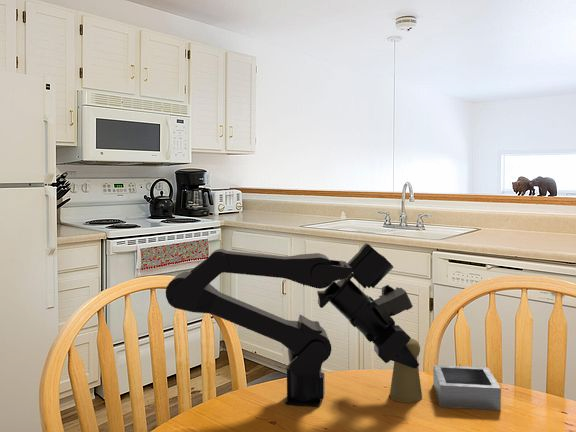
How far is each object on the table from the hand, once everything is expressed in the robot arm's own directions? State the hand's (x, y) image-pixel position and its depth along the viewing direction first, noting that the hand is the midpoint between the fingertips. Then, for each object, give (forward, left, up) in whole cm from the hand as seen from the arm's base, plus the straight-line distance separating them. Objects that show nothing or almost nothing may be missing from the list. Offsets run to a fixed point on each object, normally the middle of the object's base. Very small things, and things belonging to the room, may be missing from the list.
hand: (413, 361), depth 98 cm
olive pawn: (-1, 0, -7) cm, 7 cm away
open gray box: (+10, +1, -7) cm, 12 cm away
